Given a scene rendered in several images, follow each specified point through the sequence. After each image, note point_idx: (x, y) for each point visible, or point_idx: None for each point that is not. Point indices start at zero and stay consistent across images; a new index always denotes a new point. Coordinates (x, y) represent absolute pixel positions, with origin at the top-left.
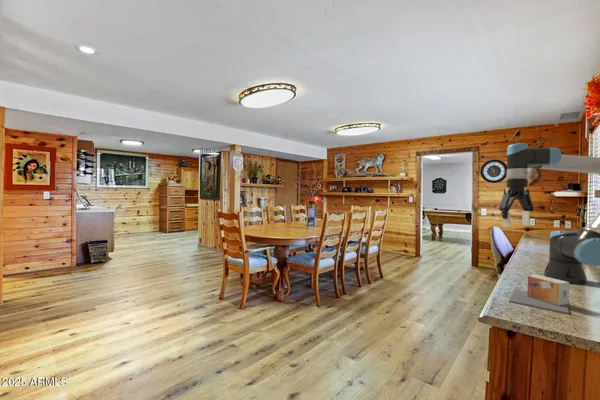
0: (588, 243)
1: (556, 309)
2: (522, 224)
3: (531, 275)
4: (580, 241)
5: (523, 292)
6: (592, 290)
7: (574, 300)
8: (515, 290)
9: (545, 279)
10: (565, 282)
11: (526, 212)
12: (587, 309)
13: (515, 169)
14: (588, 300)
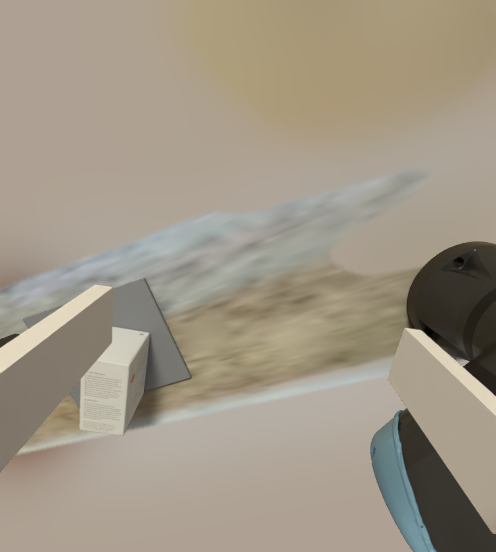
0: (396, 522)
1: (75, 393)
2: (407, 332)
3: (96, 362)
4: (426, 500)
5: (137, 306)
6: (370, 375)
7: (210, 383)
8: (134, 286)
9: (84, 399)
10: (108, 433)
11: (488, 484)
12: (160, 414)
13: None
14: (244, 397)
